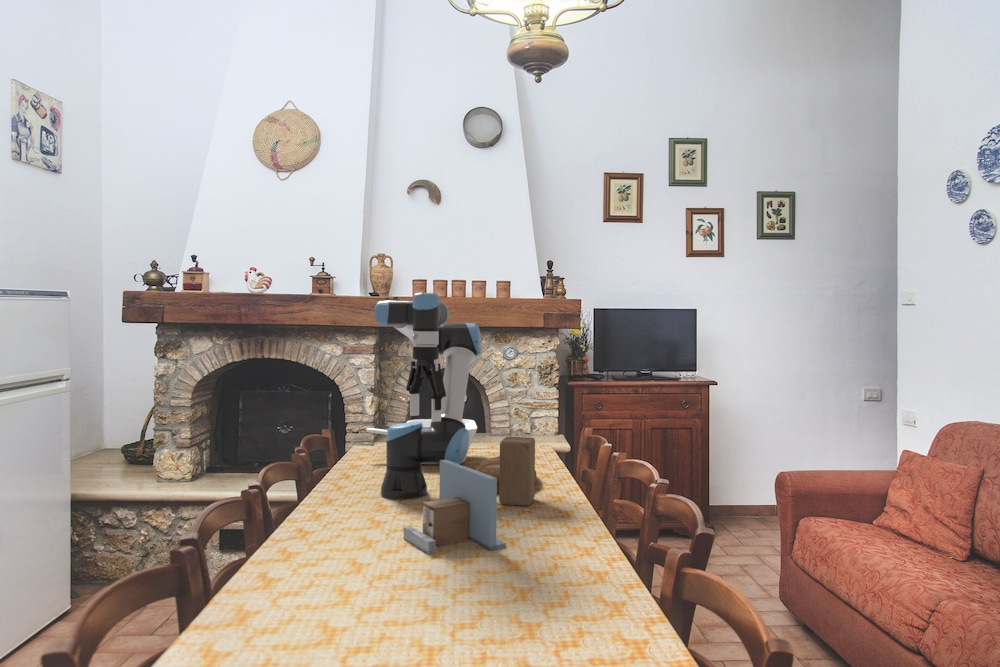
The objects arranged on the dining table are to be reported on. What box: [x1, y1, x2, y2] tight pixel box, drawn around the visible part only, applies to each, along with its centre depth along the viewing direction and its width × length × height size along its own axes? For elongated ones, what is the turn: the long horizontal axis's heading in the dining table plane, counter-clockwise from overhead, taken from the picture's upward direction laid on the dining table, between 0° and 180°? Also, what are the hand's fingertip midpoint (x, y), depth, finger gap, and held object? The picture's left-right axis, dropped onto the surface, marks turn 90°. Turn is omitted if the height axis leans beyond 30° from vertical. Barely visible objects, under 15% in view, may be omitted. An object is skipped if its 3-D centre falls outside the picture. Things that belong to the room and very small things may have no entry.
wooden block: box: [498, 436, 536, 507], centre depth 212 cm, size 10×10×20 cm
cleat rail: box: [403, 525, 437, 555], centre depth 170 cm, size 14×2×3 cm, turn 34°
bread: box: [475, 455, 537, 495], centre depth 238 cm, size 22×37×8 cm, turn 0°
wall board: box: [438, 460, 507, 551], centre depth 179 cm, size 26×5×18 cm, turn 34°
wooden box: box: [422, 497, 469, 548], centre depth 174 cm, size 6×11×10 cm, turn 124°
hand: (425, 418), depth 195 cm, fingers open, 13 cm apart
